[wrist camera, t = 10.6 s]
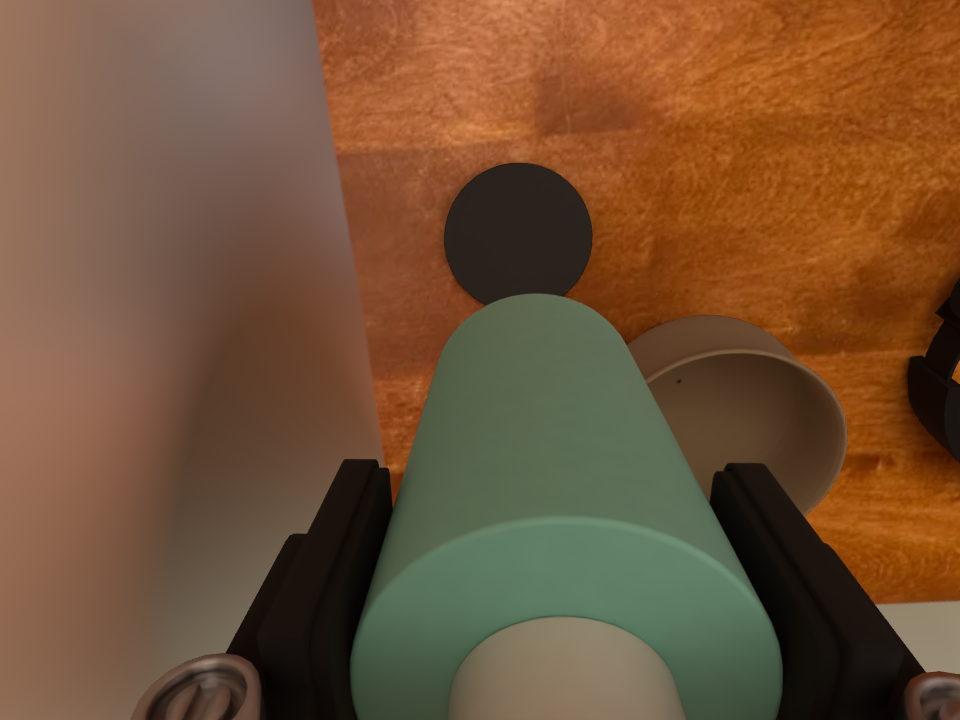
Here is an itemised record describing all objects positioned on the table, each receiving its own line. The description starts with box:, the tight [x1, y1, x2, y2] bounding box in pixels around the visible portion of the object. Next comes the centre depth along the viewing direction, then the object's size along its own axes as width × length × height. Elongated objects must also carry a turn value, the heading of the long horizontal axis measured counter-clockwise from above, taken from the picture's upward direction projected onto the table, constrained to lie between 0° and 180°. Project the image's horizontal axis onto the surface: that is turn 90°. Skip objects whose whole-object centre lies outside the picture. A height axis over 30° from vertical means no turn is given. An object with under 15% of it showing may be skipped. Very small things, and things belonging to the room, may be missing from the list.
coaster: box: [444, 163, 592, 305], centre depth 37 cm, size 9×9×1 cm
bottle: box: [349, 294, 783, 720], centre depth 11 cm, size 5×5×12 cm
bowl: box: [626, 315, 848, 517], centre depth 36 cm, size 13×13×10 cm
